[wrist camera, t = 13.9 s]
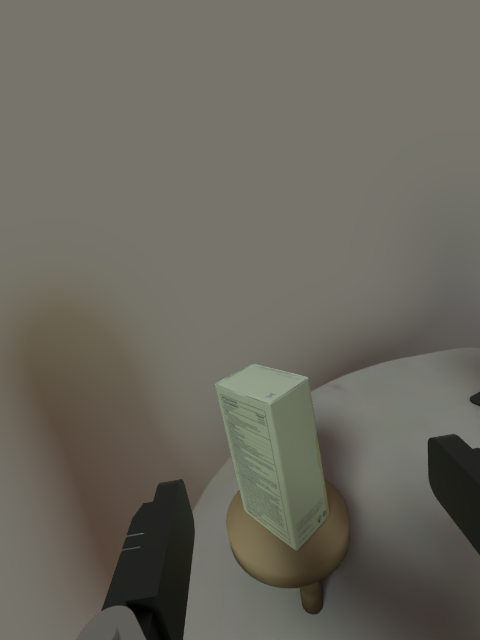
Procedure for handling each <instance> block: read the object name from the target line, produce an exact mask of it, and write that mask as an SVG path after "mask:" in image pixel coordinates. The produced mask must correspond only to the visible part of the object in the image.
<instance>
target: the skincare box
mask: <svg viewBox="0 0 480 640" xmlns="http://www.w3.org/2000/svg"><path fill="white" fill-rule="evenodd" d="M215 387H216V391H217V396H218V400H219V404H220V408H221V413H222V417H223V421H224V425H225V430H226V434H227V438H228V442H229V447H230V451H231V455H232V460H233V464H234V468H235V473H236V477H237V481H238V485H239V490H240V494H241V498H242V502H243V507H244V510H245V511H246V512H247V513H248V514H249V515H251V516H252V517H253V518H254V519H255V520H257V521H258V522H259V523H260V524H262V525H263V526H264V527H265V528H267V529H268V530H269V531H271V532H272V533H273V534H274V535H276V536H277V537H278V538H279V539H281V540H282V541H283V542H285V543H286V544H288V545H289V546H290V547H292V548H293V549H294V550H296V551H297V550H299V549H300V548H301V547H302V545H303V544H304V543H305V542H306V541H307V540H308V539H309V538H310V537H311V536H312V535H313V533H314V532H315V531H316V530H317V529H318V528H319V527H320V526H321V524H322V523H323V522H324V521H325V520H326V518H327V517H328V516H329V514H330V512H329V506H328V500H327V493H326V487H325V480H324V474H323V468H322V461H321V454H320V448H319V442H318V435H317V429H316V423H315V417H314V410H313V404H312V398H311V391H310V385H309V379H308V377H304V376H301V375H297V374H293V373H288V372H285V371H281V370H276V369H272V368H268V367H264V366H260V365H255V364H253V365H250V366H248V367H246V368H244V369H242V370H240V371H238V372H236V373H234V374H233V375H230V376H228V377H227V378H225V379H223V380H221V381H219V382H217V383H215Z"/></svg>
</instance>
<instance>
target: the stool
mask: <svg viewBox="0 0 480 640" xmlns="http://www.w3.org/2000/svg"><path fill="white" fill-rule="evenodd" d="M324 480H325V479H324ZM325 487H326V493H327V500H328V506H329V512H330V514H329V516H328V517H327V518H326V520H325V521H324V522H323V523H322V524H321V526H320V527H319V528H318V529H317V530H316V531H315V532H314V533H313V535H312V536H311V537H310V538H309V539H308V540H307V541H306V542H305V543H304V544H303V545H302V547H301V548H300V549H299V550H297V551H296V550H294V549H293V548H292V547H290V546H289V545H288V544H286V543H285V542H283V541H282V540H281V539H279V538H278V537H277V536H276V535H274V534H273V533H272V532H271V531H269V530H268V529H267V528H265V527H264V526H263V525H262V524H260V523H259V522H258V521H257V520H255V519H254V518H253V517H252V516H251V515H249V514H248V513H247V512H246V511H245V510H244V507H243V502H242V498H241V494H240V490H239V491H238V492H237V493H236V495H235V496H234V498H233V499H232V501H231V503H230V506H229V508H228V512H227V519H226V524H227V531H228V536H229V540H230V544H231V549H232V552H233V554H234V557H235V559H236V560H237V562H238V564H239V565H240V566H241V567H242V569H243V570H244V571H245V572H247V573H248V574H249V575H250V576H252V577H253V578H255V579H256V580H258V581H260V582H262V583H264V584H267V585H270V586H274V587H279V588H299V587H300V593H301V599H302V605H303V608H304V609H305V611H306V612H308V613H310V614H317V613H319V612H320V611H321V610H322V607H323V601H322V594H321V587H320V581H321V580H322V579H324V578H326V577H327V576H328V575H330V574H331V573H332V572H333V571H334V570H335V569H336V568H337V567H338V566H339V565H340V563H341V562H342V561H343V559H344V557H345V555H346V553H347V550H348V547H349V542H350V527H349V517H348V510H347V506H346V503H345V501H344V499H343V497H342V495H341V494H340V493H339V491H338V490H337V489H336V488H335V487H334V486H333V485H332V484H331V483H330V482H328V481H327V480H325Z"/></svg>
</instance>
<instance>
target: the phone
mask: <svg viewBox="0 0 480 640" xmlns="http://www.w3.org/2000/svg"><path fill="white" fill-rule="evenodd" d="M470 401H471V402H472V403H473V404H475V405H478V406H480V392H479V393H477V394H475V395H473V396H471V397H470Z"/></svg>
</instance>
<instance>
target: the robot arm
mask: <svg viewBox="0 0 480 640" xmlns="http://www.w3.org/2000/svg"><path fill="white" fill-rule="evenodd" d="M428 475H429V482H430V486H431V488H432V491H433V493H434V495H435V497H436V498H437V500H438V501H439V502H440V504H441V505H442V506H443V508H444V509H445V510H446V511H447V513H448V514H449V515H450V517H451V518H452V519H453V521H454V522H455V523H456V525H457V526H458V527H459V529H460V530H461V531H462V532H463V534H464V535H465V536H466V538H467V539H468V540H469V542H470V543H471V544H472V546H473V547H474V548H475V549H476V551H477V552H478V553H479V555H480V448H475V449H472V448H471V447H470V446H469V445H468V444H466V443H465V442H464V441H463V440H462V439H461V438H460V437H459V436H457V435H455V434H451V435H445V436H439V437H433V438H429V440H428ZM194 537H195V528H194V519H193V514H192V510H191V507H190V503H189V499H188V495H187V492H186V488H185V484H184V481H183V480H182V479H180V480H174V481H169V482H163V483H159V484H158V486H157V490H156V493H155V497H154V501H153V502H149V503H143V505H142V506H141V507H140V509H139V510H138V512H137V513H136V514H135V516H134V517H133V519H132V521H131V525H130V527H129V530H128V533H127V538H126V539H125V542H124V545H123V551H122V552H121V554H120V557H119V560H118V563H117V567H116V569H115V572H114V575H113V578H112V581H111V584H110V587H109V590H108V593H107V596H106V599H105V602H104V605H103V608H102V610H101V612H100V613H98V614H97V615H96V616H95V617H93V618H92V619H91V620H90V621H89V622H88V623H87V624H86V625H85V627H84V628H83V630H82V631H81V632H80V634H79V636H78V637H77V640H183V635H184V626H185V617H186V608H187V599H188V591H189V582H190V573H191V564H192V555H193V546H194Z"/></svg>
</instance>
